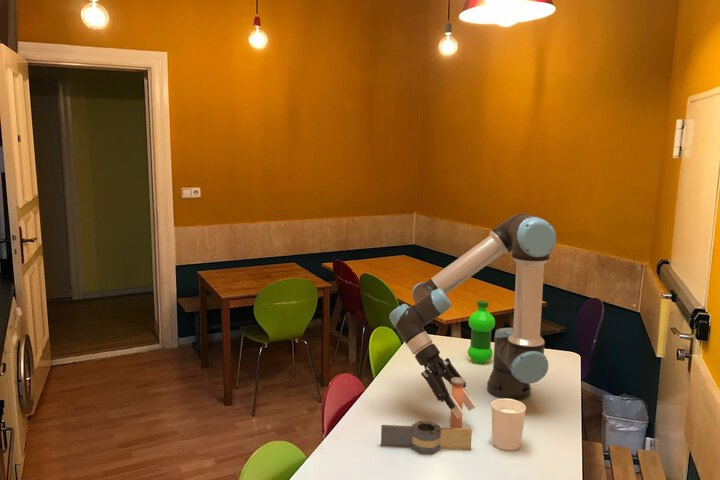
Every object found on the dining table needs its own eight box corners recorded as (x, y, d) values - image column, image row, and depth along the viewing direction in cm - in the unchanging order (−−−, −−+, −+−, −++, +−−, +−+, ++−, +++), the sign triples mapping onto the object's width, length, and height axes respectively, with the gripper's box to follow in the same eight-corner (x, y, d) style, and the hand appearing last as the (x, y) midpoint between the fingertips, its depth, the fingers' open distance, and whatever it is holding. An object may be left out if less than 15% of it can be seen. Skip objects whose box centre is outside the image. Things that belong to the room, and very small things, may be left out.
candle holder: (504, 455, 168) (507, 415, 166) (482, 439, 177) (484, 402, 175) (530, 447, 172) (533, 409, 170) (507, 432, 181) (510, 396, 179)
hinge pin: (461, 425, 185) (464, 377, 182) (463, 432, 181) (465, 382, 178) (448, 425, 185) (450, 376, 183) (449, 431, 181) (451, 382, 178)
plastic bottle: (466, 356, 246) (469, 298, 242) (491, 357, 245) (495, 299, 241) (467, 365, 236) (470, 304, 232) (493, 366, 235) (497, 306, 231)
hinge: (468, 441, 175) (469, 423, 174) (472, 456, 167) (473, 436, 166) (381, 438, 176) (381, 419, 175) (380, 452, 168) (381, 432, 167)
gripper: (432, 347, 197) (474, 407, 189) (398, 363, 182) (442, 429, 174) (447, 335, 193) (490, 396, 185) (413, 351, 178) (459, 418, 170)
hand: (466, 412), depth 180 cm, fingers open, 6 cm apart
